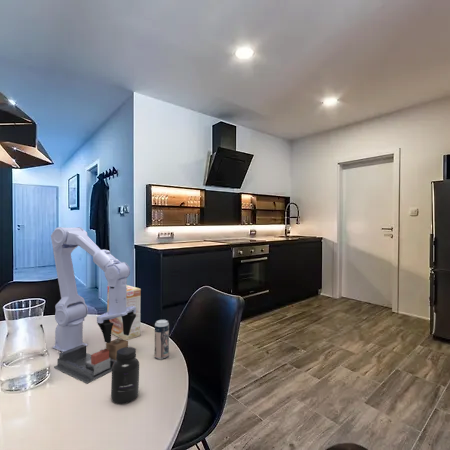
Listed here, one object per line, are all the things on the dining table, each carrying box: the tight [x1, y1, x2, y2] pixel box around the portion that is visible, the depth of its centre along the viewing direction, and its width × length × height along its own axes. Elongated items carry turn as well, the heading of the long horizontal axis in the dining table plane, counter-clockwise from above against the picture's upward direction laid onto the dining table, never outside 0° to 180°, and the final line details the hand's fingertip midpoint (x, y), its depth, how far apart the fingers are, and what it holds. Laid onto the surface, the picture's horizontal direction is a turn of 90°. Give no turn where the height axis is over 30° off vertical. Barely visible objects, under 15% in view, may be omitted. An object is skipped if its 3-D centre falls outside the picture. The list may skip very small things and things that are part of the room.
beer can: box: [153, 319, 170, 360], centre depth 96 cm, size 5×5×12 cm
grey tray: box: [53, 345, 116, 384], centre depth 88 cm, size 17×11×4 cm, turn 59°
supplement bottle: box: [110, 346, 140, 405], centre depth 73 cm, size 7×7×12 cm
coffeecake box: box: [106, 284, 142, 341], centre depth 117 cm, size 15×7×20 cm, turn 49°
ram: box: [86, 348, 110, 375], centre depth 86 cm, size 4×6×6 cm
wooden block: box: [105, 337, 129, 360], centre depth 96 cm, size 5×5×6 cm
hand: (117, 338), depth 96 cm, fingers open, 7 cm apart
